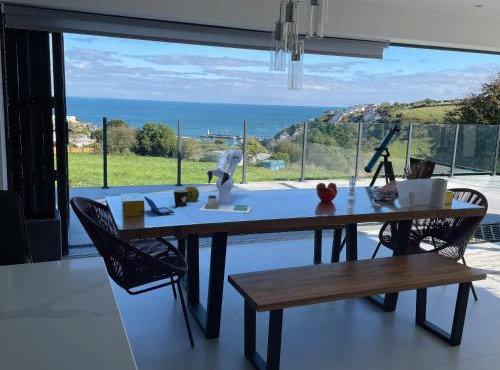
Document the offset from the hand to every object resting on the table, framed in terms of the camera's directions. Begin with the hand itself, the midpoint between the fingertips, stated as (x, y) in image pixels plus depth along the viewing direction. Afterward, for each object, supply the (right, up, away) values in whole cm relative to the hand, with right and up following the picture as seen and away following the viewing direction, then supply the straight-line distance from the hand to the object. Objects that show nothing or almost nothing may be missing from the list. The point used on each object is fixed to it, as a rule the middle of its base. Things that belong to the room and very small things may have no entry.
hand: (215, 183), depth 267 cm
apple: (-17, -12, +23) cm, 31 cm away
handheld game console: (-31, -17, -6) cm, 36 cm away
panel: (+6, -16, +5) cm, 17 cm away
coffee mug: (-20, -14, +10) cm, 26 cm away
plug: (-2, -14, +5) cm, 16 cm away
